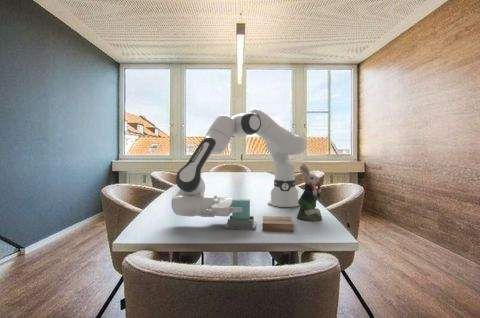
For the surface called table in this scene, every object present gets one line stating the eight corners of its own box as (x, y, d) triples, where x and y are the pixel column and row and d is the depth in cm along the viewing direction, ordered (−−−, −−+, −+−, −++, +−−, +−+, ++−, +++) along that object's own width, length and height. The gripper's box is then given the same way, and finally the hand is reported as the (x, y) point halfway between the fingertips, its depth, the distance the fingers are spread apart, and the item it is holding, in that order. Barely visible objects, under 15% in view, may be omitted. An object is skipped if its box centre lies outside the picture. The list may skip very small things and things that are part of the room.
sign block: (233, 222, 132) (233, 199, 132) (249, 223, 132) (249, 199, 131) (232, 224, 129) (232, 200, 129) (249, 224, 129) (249, 200, 128)
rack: (228, 222, 136) (228, 214, 136) (256, 223, 135) (256, 215, 135) (225, 229, 126) (225, 220, 126) (254, 229, 125) (254, 221, 125)
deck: (263, 223, 136) (263, 216, 135) (291, 223, 134) (291, 217, 134) (262, 230, 124) (262, 223, 123) (293, 231, 122) (293, 224, 122)
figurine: (321, 225, 138) (330, 169, 136) (291, 220, 141) (300, 165, 138) (320, 219, 149) (329, 167, 146) (292, 214, 151) (300, 162, 149)
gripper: (205, 203, 121) (240, 204, 119) (214, 194, 141) (245, 195, 140) (205, 219, 121) (240, 220, 120) (214, 208, 141) (245, 209, 140)
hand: (243, 207), depth 130 cm, fingers open, 8 cm apart
